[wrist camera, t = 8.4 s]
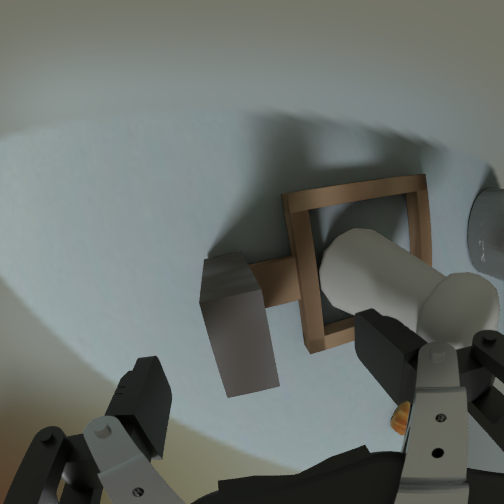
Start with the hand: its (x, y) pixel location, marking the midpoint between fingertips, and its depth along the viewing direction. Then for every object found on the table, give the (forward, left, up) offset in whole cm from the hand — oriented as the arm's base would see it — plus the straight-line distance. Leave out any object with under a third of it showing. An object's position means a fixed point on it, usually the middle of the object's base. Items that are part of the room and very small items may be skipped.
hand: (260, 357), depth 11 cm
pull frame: (-7, 0, -9) cm, 11 cm away
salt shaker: (-8, 0, -10) cm, 12 cm away
